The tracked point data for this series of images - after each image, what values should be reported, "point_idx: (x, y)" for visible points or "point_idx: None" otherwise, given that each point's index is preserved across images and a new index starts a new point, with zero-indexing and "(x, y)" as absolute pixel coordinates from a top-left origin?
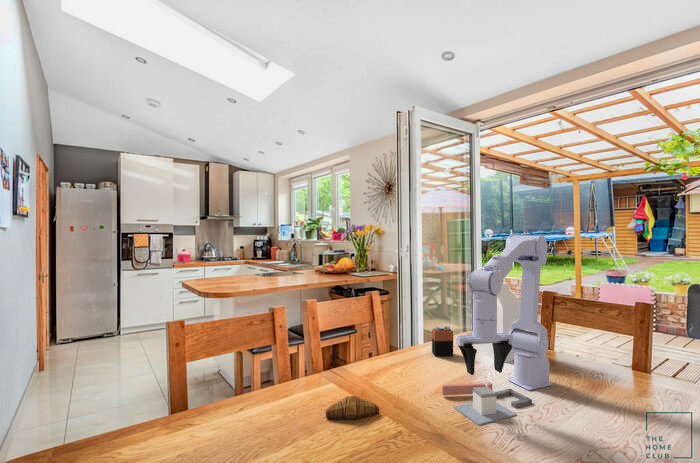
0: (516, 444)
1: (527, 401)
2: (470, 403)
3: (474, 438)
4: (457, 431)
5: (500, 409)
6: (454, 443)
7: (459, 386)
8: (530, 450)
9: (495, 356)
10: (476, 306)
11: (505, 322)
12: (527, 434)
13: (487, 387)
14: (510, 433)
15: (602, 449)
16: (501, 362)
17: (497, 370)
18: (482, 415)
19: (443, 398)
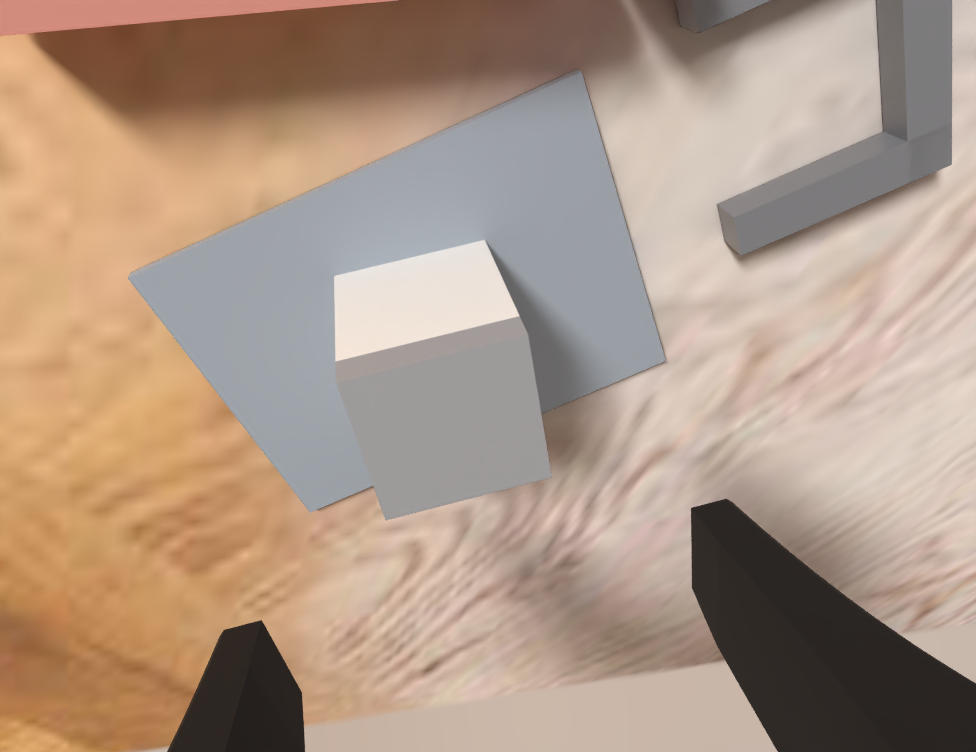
0: (476, 631)
1: (891, 186)
2: (328, 203)
3: (247, 623)
4: (141, 579)
5: (576, 301)
6: (111, 676)
7: (216, 15)
8: (523, 658)
9: (816, 690)
10: None
11: None
12: (591, 550)
13: (519, 361)
14: (494, 554)
15: (862, 604)
16: (778, 750)
17: (696, 568)
18: None
19: (9, 42)
